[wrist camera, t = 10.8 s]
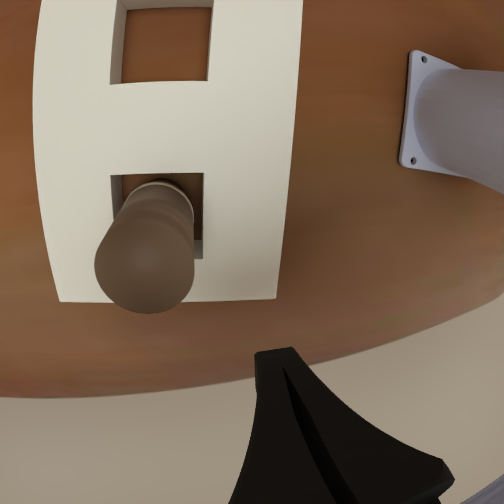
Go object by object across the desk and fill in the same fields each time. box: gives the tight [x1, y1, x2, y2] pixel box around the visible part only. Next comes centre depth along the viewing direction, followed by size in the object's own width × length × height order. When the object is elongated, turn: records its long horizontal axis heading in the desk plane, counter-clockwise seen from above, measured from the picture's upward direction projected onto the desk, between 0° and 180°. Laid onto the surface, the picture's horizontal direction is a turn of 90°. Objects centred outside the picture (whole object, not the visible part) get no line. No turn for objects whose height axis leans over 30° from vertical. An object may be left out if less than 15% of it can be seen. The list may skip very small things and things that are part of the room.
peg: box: [94, 178, 195, 314], centre depth 14 cm, size 4×4×8 cm
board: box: [33, 0, 303, 302], centre depth 15 cm, size 13×20×2 cm, turn 177°
